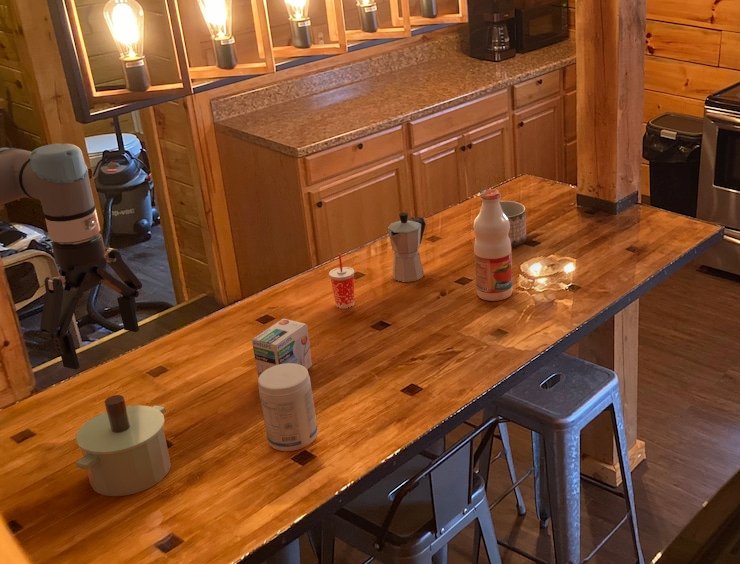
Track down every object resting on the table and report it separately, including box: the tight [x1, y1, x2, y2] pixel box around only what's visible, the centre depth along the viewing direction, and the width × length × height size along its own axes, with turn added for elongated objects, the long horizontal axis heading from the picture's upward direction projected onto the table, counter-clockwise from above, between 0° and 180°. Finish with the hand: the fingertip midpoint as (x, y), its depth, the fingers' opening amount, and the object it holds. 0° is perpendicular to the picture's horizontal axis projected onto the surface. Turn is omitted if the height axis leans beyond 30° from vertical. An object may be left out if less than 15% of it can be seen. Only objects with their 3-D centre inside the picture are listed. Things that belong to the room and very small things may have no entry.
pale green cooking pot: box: [75, 404, 172, 497], centre depth 175 cm, size 14×19×10 cm
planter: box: [499, 200, 527, 248], centre depth 274 cm, size 13×13×10 cm
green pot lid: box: [75, 394, 166, 455], centre depth 172 cm, size 15×15×7 cm
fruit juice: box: [473, 188, 514, 302], centre depth 240 cm, size 9×9×28 cm
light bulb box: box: [251, 317, 313, 379], centre depth 207 cm, size 11×7×11 cm, turn 158°
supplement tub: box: [257, 363, 319, 452], centre depth 184 cm, size 10×10×15 cm
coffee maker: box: [387, 212, 427, 283], centre depth 252 cm, size 15×9×18 cm, turn 155°
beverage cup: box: [328, 253, 356, 309], centre depth 237 cm, size 6×6×14 cm
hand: (102, 348), depth 167 cm, fingers open, 13 cm apart
